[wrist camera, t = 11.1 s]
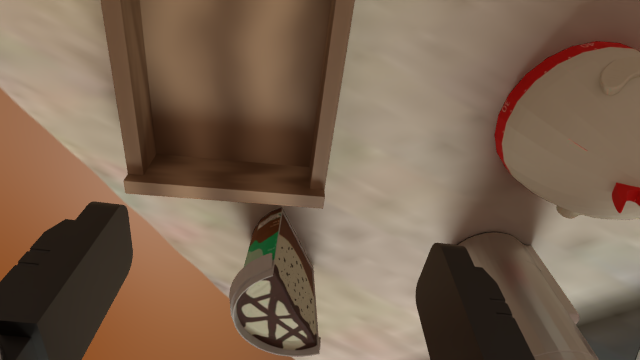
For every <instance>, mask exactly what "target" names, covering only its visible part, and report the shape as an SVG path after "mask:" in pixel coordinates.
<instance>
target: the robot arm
mask: <svg viewBox="0 0 640 360" xmlns="http://www.w3.org/2000/svg"><path fill="white" fill-rule="evenodd" d="M132 256H133V249H132V241H131V232H130V225H129V217H128V210H127V208H126V206H124V205H119V204H110V203H101V202H91V203H89V204H88V205H87V206H86V208H85V209H84V210H83V211H82V213H81V214H80V215H79V216H78V217H77V219H76V220H68V219H65V220H64V221H62V222H60V223H59V224H57V225H55V226H54V227H52V228H51V229H49V230H47V231H45V232H44V233H43V234H42V236H41V237H40V238H39V239H38V240H37V241H36V242H35V243H34V244H33V246H32V247H31V248H30V251H29V252H26V254H25V255H24V256H23V257H22V258H21V259H20V260H19V261H18V265H15V266H14V267H13V268H12V269H11V270H10V271H9V273H8V274H7V275H6V276H5V277H4V278H3V279H2V281H1V282H0V360H82V358H83V356H84V354H85V352H86V350H87V349H88V346H89V345H90V343H91V341H92V339H93V338H94V336H95V334H96V332H97V330H98V328H99V327H100V324H101V323H102V321H103V319H104V317H105V315H106V314H107V312H108V310H109V308H110V306H111V304H112V302H113V301H114V299H115V297H116V295H117V293H118V291H119V289H120V288H121V286H122V284H123V282H124V280H125V278H126V277H127V275H128V272H129V270H130V267H131V263H132ZM416 305H417V309H418V313H419V317H420V321H421V325H422V329H423V332H424V336H425V340H426V344H427V348H428V352H429V356H430V360H599V359H598V357H597V356H596V354H595V353H594V351H593V350H592V348H591V347H590V345H589V344H588V342H587V341H586V339H585V338H584V336H583V335H582V333H581V332H580V330H579V329H578V327H577V326H576V324H577V322H578V320H579V314H578V312H577V311H576V309H575V308H574V307H573V305H572V304H571V302H570V301H569V299H568V298H567V296H566V295H565V294H564V292H563V291H562V289H561V288H560V286H559V285H558V283H557V282H556V281H555V279H554V278H553V276H552V275H551V273H550V272H549V270H548V269H547V268H546V266H545V265H544V263H543V262H542V260H541V259H540V257H539V256H538V255H537V253H536V252H535V250H534V249H533V247H532V246H530V245H523V244H522V243H521V242H520V241H519V240H518V239H517V238H515V237H513V236H511V235H508V234H505V233H496V232H493V233H484V234H480V235H476V236H473V237H471V238H468V239H466V240H465V241H463V242H461V243H460V244H458V245H452V244H443V243H435V244H434V245H433V246H432V248H431V250H430V252H429V255H428V257H427V260H426V262H425V265H424V267H423V270H422V273H421V275H420V278H419V280H418V283H417V287H416Z"/></svg>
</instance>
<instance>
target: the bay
mask: <svg viewBox="0 0 640 360" xmlns="http://www.w3.org/2000/svg"><path fill="white" fill-rule="evenodd" d="M354 2H355V0H101V6H102V12H103V18H104V25H105V31H106V37H107V44H108V50H109V56H110V63H111V69H112V75H113V82H114V88H115V94H116V101H117V107H118V113H119V120H120V126H121V132H122V139H123V145H124V151H125V158H126V164H127V170H128V175H127V176H126V178H125V179H124V187H125V193H128V194H141V195H154V196H167V197H180V198H193V199H206V200H219V201H232V202H245V203H257V204H270V205H283V206H296V207H309V208H322V209H323V205H324V199H325V193H324V189H325V182H326V176H327V170H328V164H329V158H330V151H331V145H332V139H333V133H334V126H335V120H336V114H337V108H338V101H339V95H340V89H341V83H342V77H343V70H344V64H345V58H346V52H347V45H348V39H349V33H350V27H351V21H352V14H353V8H354Z"/></svg>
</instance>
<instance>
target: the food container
mask: <svg viewBox="0 0 640 360" xmlns="http://www.w3.org/2000/svg"><path fill="white" fill-rule="evenodd" d="M229 297H230V308H231V316H232V319H233V322H234V324H235V327H236V329H237V331H238V332H239V334H240V335H241V336H242V337H243V338H244V339H245V340H246V341H247V342H249V343H250V344H252V345H253V346H255V347H257V348H259V349H261V350H263V351H266V352H269V353H273V354H277V355H282V356H292V357H302V356H312V355H317V354H319V350H320V339H321V338H320V337H318V324H317V310H316V297H315V284H314V270H313V267H312V265H311V263H310V261H309V259H308V257H307V255H306V253H305V252H304V250H303V248H302V246H301V244H300V242H299V240H298V238H297V236H296V234H295V232H294V230H293V228H292V226H291V224H290V222H289V220H288V218H287V216H286V214H285V212H284V210H283V208H280V209H277V210H274V211H272V212H271V213H269V214H268V215H266V216H265V217H264V218H262V219H261V220H260V222H259V223H258V225H257V226H256V227H255V229H254V232H253V236H252V239H251V243H250V246H249V250H248V254H247V257H246V261H245V264H244V268H243V269H242V270H241V271H240V272H239V273H238V274H237V276H236V277H235V279H234V280H233V282H232V285H231V288H230V294H229Z"/></svg>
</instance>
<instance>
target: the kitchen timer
mask: <svg viewBox="0 0 640 360" xmlns="http://www.w3.org/2000/svg"><path fill="white" fill-rule="evenodd" d="M495 142H496V150H497V154H498V155H499V157H500V159H501V161H502V163H503V164H504V166H505V168H506V169H507V170H508V171H509V173H510V174H511V175H512V176H513V177H514V178H515V179H516V180H517V181H519V182H520V183H521V184H522V185H524V186H525V187H526V188H527V189H529V190H530V191H531V192H533V193H534V194H536V195H538V196H539V197H541V198H543V199H545V200H547V201H549V202H551V203H553V204H555V205H557V207H556V208H557V211H558V212H559V213H560V214H561V215H562V216H564V217H566V218H574V217H576V216H578V215H585V216H589V217H594V218H600V219H617V220H633V219H640V52H639V51H637V50H635V49H633V48H631V47H628V46H626V45H623V44H621V43H612V42H600V41H596V42H591V43H586V44H581V45H577V46H572V47H570V48H568V49H566V50H563V51H561V52H559V53H557V54H555V55H553V56H551V57H549V58H547V59H545V60H544V61H543V62H542V63H540V64H539V65H538V66H536V67H535V68H534V69H532V70H531V71H530V72H529V73H527V74H526V75H525V76H524V77H523V78H522V80H521V81H520V82H519V83H518V84H517V86H516V87H515V88H514V89H513V90H512V91H511V93H510V94H509V95H508V97H507V99H506V101H505V103H504V105H503V107H502V109H501V111H500V113H499V115H498V120H497V125H496V130H495Z"/></svg>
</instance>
